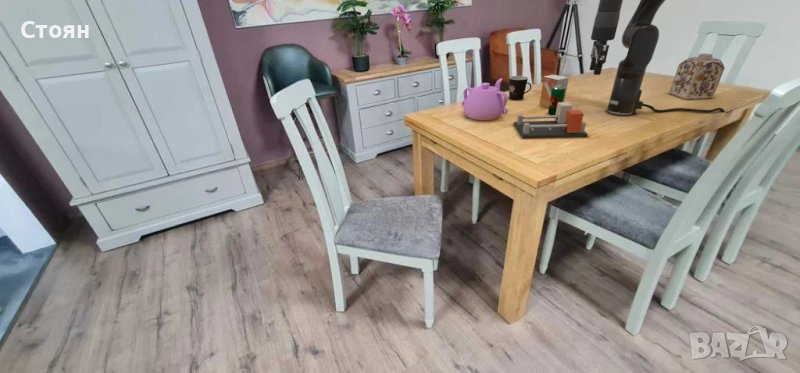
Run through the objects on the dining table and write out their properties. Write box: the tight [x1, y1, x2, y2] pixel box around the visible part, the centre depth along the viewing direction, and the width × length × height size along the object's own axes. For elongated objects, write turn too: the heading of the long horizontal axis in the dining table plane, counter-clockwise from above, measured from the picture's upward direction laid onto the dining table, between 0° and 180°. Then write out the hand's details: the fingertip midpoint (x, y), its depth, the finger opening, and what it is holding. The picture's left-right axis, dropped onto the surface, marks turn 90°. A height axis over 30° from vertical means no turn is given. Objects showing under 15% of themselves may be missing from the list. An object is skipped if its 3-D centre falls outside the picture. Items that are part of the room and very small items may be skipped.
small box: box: [539, 74, 570, 109], centre depth 147 cm, size 8×6×13 cm
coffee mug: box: [508, 75, 532, 102], centre depth 160 cm, size 12×9×10 cm
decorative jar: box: [668, 53, 726, 100], centre depth 148 cm, size 12×12×18 cm
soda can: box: [547, 84, 567, 116], centre depth 138 cm, size 5×5×12 cm
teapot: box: [461, 77, 509, 121], centre depth 142 cm, size 22×22×14 cm
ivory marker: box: [554, 101, 574, 124], centre depth 126 cm, size 4×4×7 cm
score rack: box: [513, 113, 588, 139], centre depth 124 cm, size 22×15×5 cm
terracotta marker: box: [564, 109, 585, 133], centre depth 117 cm, size 4×4×7 cm
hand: (594, 72), depth 127 cm, fingers open, 8 cm apart
